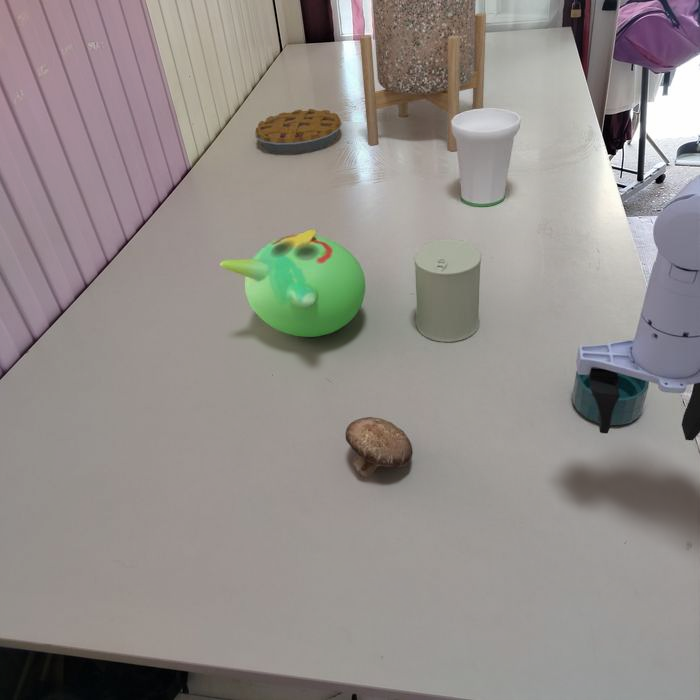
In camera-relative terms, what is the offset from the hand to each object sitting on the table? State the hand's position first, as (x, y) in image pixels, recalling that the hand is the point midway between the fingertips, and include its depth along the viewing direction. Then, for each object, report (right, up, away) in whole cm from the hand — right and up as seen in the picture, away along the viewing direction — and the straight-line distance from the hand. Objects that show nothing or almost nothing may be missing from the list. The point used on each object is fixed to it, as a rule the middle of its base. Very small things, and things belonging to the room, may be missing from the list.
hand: (644, 429), depth 62 cm
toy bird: (-35, +11, +35) cm, 51 cm away
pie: (-41, +60, +98) cm, 122 cm away
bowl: (+3, +1, +16) cm, 16 cm away
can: (-14, +12, +32) cm, 37 cm away
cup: (-3, +38, +63) cm, 74 cm away
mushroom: (-25, -5, +13) cm, 29 cm away
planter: (-10, +61, +94) cm, 113 cm away
